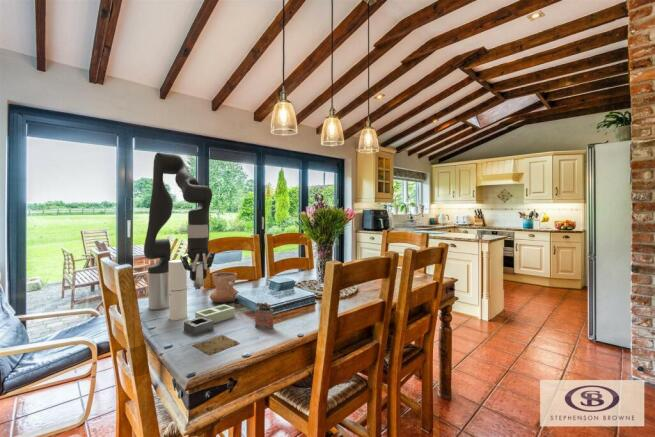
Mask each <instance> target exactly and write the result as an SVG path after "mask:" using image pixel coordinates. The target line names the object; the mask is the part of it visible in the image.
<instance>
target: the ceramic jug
mask: <svg viewBox="0 0 655 437" xmlns="http://www.w3.org/2000/svg"><path fill="white" fill-rule="evenodd" d="M211 277H212V282H213V283H214V287H215V289H214V290H212V292H210V295H209V299H210V301H212V302H214V303H218V304H227V303H231V302H233V301H235V295H236V294H237V293H239V294H240V292H239V291H238V289H236V288H234V285H235V283H236V280H237V272H229V271H228V272H227V271H225V272H224V271H223V272H222V271H221V272H216V273H213V274H212V276H211Z"/></svg>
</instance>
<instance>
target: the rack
mask: <svg viewBox="0 0 655 437" xmlns="http://www.w3.org/2000/svg"><path fill="white" fill-rule="evenodd" d="M235 309H236V308H235V307H233V306H230V305H227V304H226V303H223V304H219V305H216V306H213V307H209V308H206V309H202V310H198V311H196V312H195V314H194V315H195V318H194V319H196V318H199V317H206V318H208V319H210V320H213V321H214V324H215V323H219V322H223V321H225V320H229V319H232V318H234V317H236V316H235V313H236V312H235V311H236V310H235Z"/></svg>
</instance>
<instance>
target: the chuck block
mask: <svg viewBox="0 0 655 437" xmlns="http://www.w3.org/2000/svg"><path fill="white" fill-rule="evenodd" d="M214 324H215V323H214V321H213V320H210V319H208V318H206V317H199V318H196V319H195V318H192V319H189V320H185V321H183V331H184V332H186V333H188V334H190V335H192V336H194V337H196V336H199V335H202V334H204V333H207V332H210V331H214V328H215V326H214Z"/></svg>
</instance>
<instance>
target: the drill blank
mask: <svg viewBox="0 0 655 437" xmlns="http://www.w3.org/2000/svg"><path fill="white" fill-rule="evenodd" d="M195 271H196V280H195V281H193V287H194V288H203V287H204V279H203V263H200V262H197V265H196V268H195Z"/></svg>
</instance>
